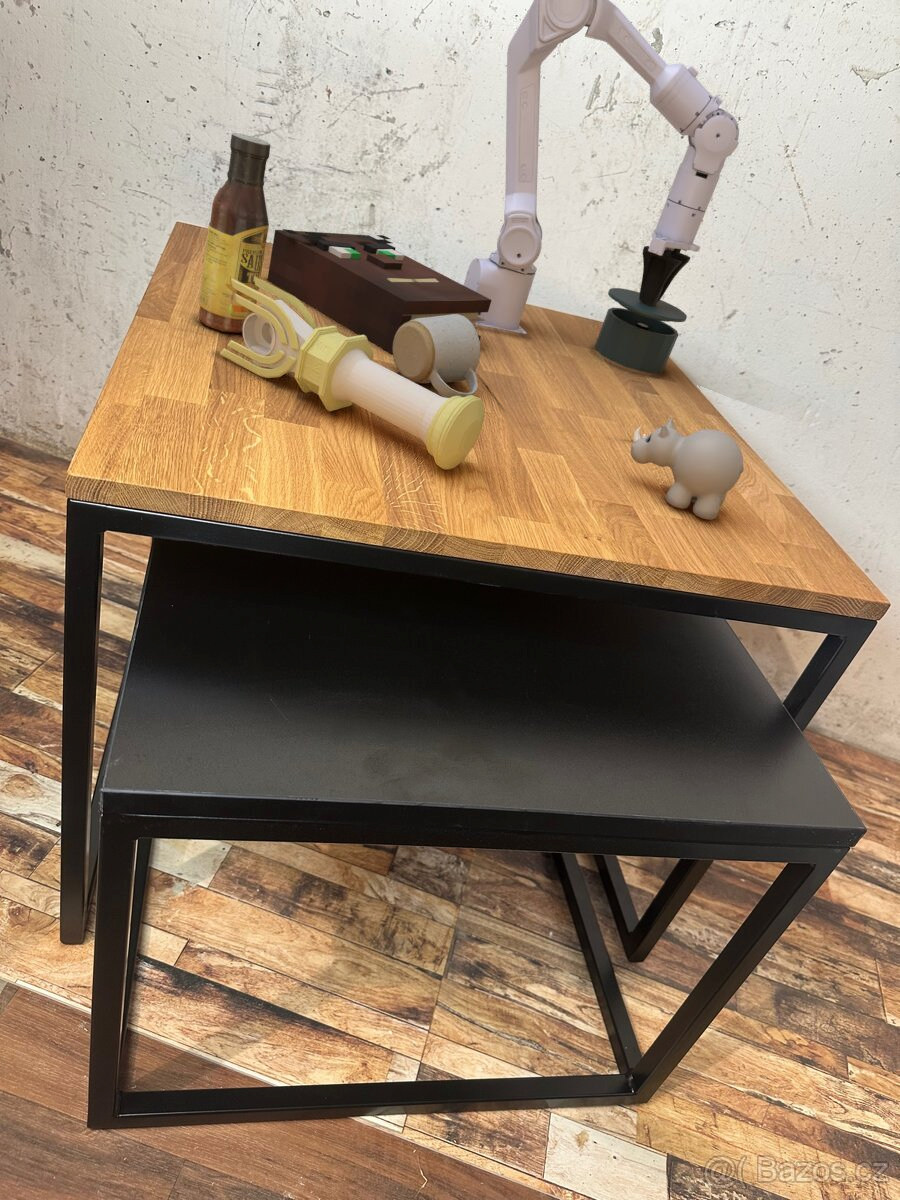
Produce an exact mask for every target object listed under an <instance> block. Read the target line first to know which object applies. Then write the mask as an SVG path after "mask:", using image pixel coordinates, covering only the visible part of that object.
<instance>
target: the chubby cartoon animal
mask: <svg viewBox="0 0 900 1200" xmlns="http://www.w3.org/2000/svg"><path fill="white" fill-rule="evenodd" d="M641 428H642V426H639V427H637V429H636V430H635V431H634V432H633V436H632V444H631V447H630V457H631V458H632V460H633V461H634V462H635V463H638V464H641V465H645V464H649V463H651V464H652V465H656V466H658V467H659V468H660V467H661V468H664V467H666V468H667V467H668V468H670V470H671V472H672V476H673V479H674V482H673V484H672V485H671V486H670V488H669V489H668V491H667V493H666V495H665V500H666V502H667V504H669V505H670V506H672V507H674V508H676V509H683V510H684V509H687V508H688V507H689V506H690V504H691V503H693V506H692V513H693V514H694V515H695V516H696V517H698V518H700V519H704V520H711V521H712V520H714V519H716V518H717V516H718V514H719V512H720V507H722V505H723V504H724V503H725V500H726V497H727V493H728V492H729V491H730V490H732V489H733V488H734V487H735V486H736V484H737V483H738V482H739V479H740V477H741V475H742V474H743V472H744V471H745V467H744V456H743V453H742V450H741V447H740V446H739V444H738V442H737V441H736V440H735V439H734V438H733V437H732V436H731V435H729V434H727V433H726V432H724V431H722V430H718V429H711V428H709V429H708V428H706V429H700V430H696V431H694V432H692V433H690V434H688V435H686V436H683V435H682V434H681V433H680V432H679V431H678V430H677V429H675V428H674V420H673V418H670V419H668V421H667V424H666V425H665V424H662V425H661V427H658V428H656V429H655V430H653V431H652V432H651V433H650V434H648V435H647V434H646V433H643V434H642V436H641Z"/></svg>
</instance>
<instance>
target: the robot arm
mask: <svg viewBox="0 0 900 1200" xmlns="http://www.w3.org/2000/svg"><path fill="white" fill-rule="evenodd" d="M585 27H586V28H587V29H586V32H585V34H584V37H585V38H589V39H592V40H597V41H601V42H605V43H606V44H608V45H609V46H610V47H611V49H613V51H614V52H616V53H617V54H618V55H619V56H620V58H621V59H623V61H625V62H626V63H627V64H628V65H629V66H630V67H631V69H633V70H634V71H635V72H636V73H637V74H638V75H639V76H640V77H641V78H642V79H643V80H644V81H645V82H646V83H647V85H649V103H650V104H651V105H652V106H653V107H654V108H655V109H656V110H657V112H659V114H660V115H661V116H663V118H664V119H665V120H666V121H667V122H668V123H669V124H670V125H671V126H672V127H673V128H674V130H676V132H677V133H678V134H679V135H681V137H682V136H683V137H685V136H687V140H688V141H687V142H688V146H687V149H686V151H685V154H684V156H683V158H682V162H681V163H680V164H679V166H678V168H677V171H676V173H675V176H674V179H673V181H672V185H671V186H670V189H669V192H668V194H667V198H666V200H665V202H664V205H663V207H662V209H661V213H660V215H659V218H658V221H657V224H656V226H655V229H653V230H652V233H651V241H650V244H649V245H645V246H643V248H642V259H643V260H642V262H643V267H642V268H643V270H642V278H641V283H640V289H639V292H640V295H639V300H642V301H644V302H646V303H649V304H653V303H654V301H655V300H656V299H657V297H658V295H659V293H660V292H661V294H660V296H659V299H658V301H657V302H659V300H662V298H663V296H664V295H665V293H666V291H667V290H668V289H669V287H670V285H671V283H672V282H673V280H674V279H675V277H676V276H677V275H678V273H680V271H681V270H682V269H683V268H684V267H685V266H687V264H689V262H690V260H691V256H689V255H687V254H684V253H681V251H684V252H686V251H692V252H695V253H696V252H697V253H698V252H699V251H700V249H701V246H700V245H697V244H695V243H694V241H695V238H696V236H697V234H698V231H699V229H700V226H701V224H702V222H703V220H704V217H705V215H706V211H707V210H708V207H709V204H710V202H711V200H712V197H713V195H714V192H715V190H716V188H717V185H718V182H719V180H720V175H721V172H722V170H723V168H724V166H725V162H726V160H727V158H728V157H730V156H731V155H732V154H733V153H734V152H735V150H736V149H737V147H738V146H739V144H740V141H738V140H739V137H740V128H739V123H738V121H737V118H736V117H735V116H734V115H733V114H731V113H729V112H728V111H726V110H725V109H723V108H720V106H721V105H722V103H723V99H722V98H721V97H720V96H719V95H716V96H715V97H714V96H713V95H712V93H711V92H709V90H708V89H707V88H706V87H705V86H704V85H703V84H702V83H701V82H700V81H699V79H698V78H697V76H698V75H699V71H697V70H696V68H695V67H694V66H692V65H690V66H689V67H687V66H686V65H685V64H684V63H680V62H679V63H671V64H668V63H667V62H666V60H664V59H663V57H662V56H661V55H660V54H659V53H658V52H657V51H656V50H655V48H654V47H653V46H652V45H651V44H650V43H649V42H648V40H647V39H646V38H645V36H644V35H642V33H641V32H640V30H638V29H637V28H636V26H635V25H634V24H633V23H632V21H630V20H629V18H628V17H627V16H626V15H625V13H623V12H622V10H621V9H620V8H619V7H618V6H617V5H616V4H614V2H612V1H611V0H533V1H532V2H531V5H530V6H529V9H528V10H527V12H526V13H525V16H523V19H522V21H521V22H520V24H519V25H518V28H517V29H516V31H515V33H514V35H513V36H512V38H511V40H510V41H509V43H508V46H507V52H506V115H505V118H506V119H505V121H506V123H505V191H504V192H505V194H504V196H505V198H504V209H503V210H504V211H503V212H504V213H503V214H504V215H503V222H502V223H503V224H502V226H501V228H500V231H499V232H500V233H499V235H498V238H497V242H496V250H494V251H491V252H490V254H489V257H487V258H481V257H475V258H473V260H471V262H470V264H469V266H468V269H467V271H466V276H465V279H464V283H463V285H464V286H466V287H467V288H469V289H471V290H473V291H475V292H477V293H479V294H481V295H483V296H485V297H487V298H489V299H491V300H492V301H491V304H490V307H489V311H488V312H481V313H479V314H478V317H480V318H482V319H484V320H486V321H476V324H475V325H477V326H483V327H488V328H493V329H498V330H503V331H508V332H514V333H519V334H524V335H528V332H527V331H526V330H525V329H524V328H523V327H522V326H521V325H520V324H521V320H522V317H523V314H524V311H525V309H526V308H525V307H526V305H527V301H528V299H529V295H530V293H531V289H532V286H533V282H534V279H535V276H536V273H537V270H538V268H537V267H536V266H535V265H534V263H536V261H537V260H538V259H539V258H540V257H539V256H541V255H540V254H541V252H542V248H543V247H542V246H543V245H542V244H543V243H542V240H543V229H542V226H541V223H540V221H539V218H538V213H537V208H538V207H537V205H538V172H539V171H538V168H539V167H538V166H539V138H540V137H539V133H540V132H539V131H540V103H541V99H540V98H541V97H540V96H541V73H542V71H541V70H542V64H543V63H544V62H545V60H547V58H549V56H550V55H551V54H552V53H553V52H554V51H555V50H556V49H557V47H558V45H560V44H561V43H563V42H564V41H566V40H567V39H570V38H571V37H572V36H574V35H576V34H577V33H579V32H580V31H581V30H582V29H583V28H585ZM662 288H663V289H662ZM661 290H662V291H661Z"/></svg>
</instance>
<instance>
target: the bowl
mask: <svg viewBox="0 0 900 1200" xmlns="http://www.w3.org/2000/svg"><path fill="white" fill-rule="evenodd" d="M637 323H642V324H645V325H647V326H648V330H644V329H641V328H638V327H636V325H637ZM678 338H679V332H678V330H676V329H675V328H674V327H673V326H672V325H670V324H668V323H667V322H665V321H659V320H655V319H651V318H648V317H645V316H642V315H639V314H637V313H634V312H632V311H630V310H628V309H626V308H624V307H611V308H608V309H607V311H606V314H605V316H604V320H603V322H602V325H601V328H600V330H599V333H598V335H597V338H596V341H595V344H594V349H595V351H596V352H597V353H599V355H601V356H602V357H604V358H606V359H608V360H609V361H611V362H613V363H616V364H618V365H620V366H621V367H625V368H627V369H628V368H629V369H632V370H635V371H637V372H643V373H648V374H660V373H662V372H664V371H665V368H666V366H667V363H668V361H669V359H670V356H671V354H672V352H673V349H674V347H675V345H676V342H677V339H678Z"/></svg>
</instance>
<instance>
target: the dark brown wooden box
mask: <svg viewBox="0 0 900 1200" xmlns="http://www.w3.org/2000/svg"><path fill="white" fill-rule="evenodd" d="M375 236H376V237H378V238H379V239H378V238H375V237H374V236H371V235H368V234H354V233H337V232H323V231H321V232H319V231H304V230H294V229H285V228H282V229H275V230H274V235H273V241H272V247H271V252H270V253H271V254H270V259H269V260H270V261H269V266H268V273H267V279H266V280H267V281H268V282H270V284H271V283H272V285H274V286H275V287H277V288H279V289H281V290H283V291H285V292H287V293H289V294H291V295H293V296H294V297H296V298H297V299H298V300H299V301H301V302H302V303H305V304H307V305H308V306H310V307H312V308H313V309H314V310H316V311H318V312H320V313H322V314H324V315H325V316H327V317H328V318H331V319H332V320H333V321H335V322H337V323H339V324H340V325H342V326H344V327H345V328H347V329H348V330H350V331H352V332H354V333H356V334H357V335H358V336H359V335H365V336H366V337H367V339H368V342H370V343H372V344H374V345H376V346H377V347H379V348H381V349H382V350H384V351H385V352H388V353H389V354H390V355H392V356H393V341H394V337H395V335H396V332H397V331H398V329H399V328H400V327H401V326H402V325H403V324H404V323H406V322H408V321H411V320H414V319H417V318H426V317H435V316H444V315H451V314H459V315H462V316H464V317H466V318H467V319H468V320H469V321H470V322H471V323H472V324H473V326H474V328H475V329H476V325H477V324H476V321H486V320H484V319H482V318H480V317H478V314H479V313H481V312H488V311H489V307H490V304H491V301H492V300H491V299H489V298H487V297H485V296H483V295H481V294H479V293H477V292H475V291H473V290H471V289H469V288H467V287H466V286H464V284H462V283H460V282H458V281H456V280H454V279H453V278H450V277H448V276H446V275H444V274H442V273H440V272H438V271H436V270H434V269H432V268H430V267H429V266H428V265H425V264H422V263H421V262H419V261H418V260H415V259H413V258H411V257H409V256H407V255H405V254H403V253H401V252H399V251H398V250H396V249H397V248H396V247H395V246H393V245H392V244H393V242H391V241H390V240H391V238H390V237H388V236H386V235H383V234H376V235H375ZM478 337H479V342H480V341H481V338H482V336H481V335H479V334H478Z"/></svg>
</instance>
